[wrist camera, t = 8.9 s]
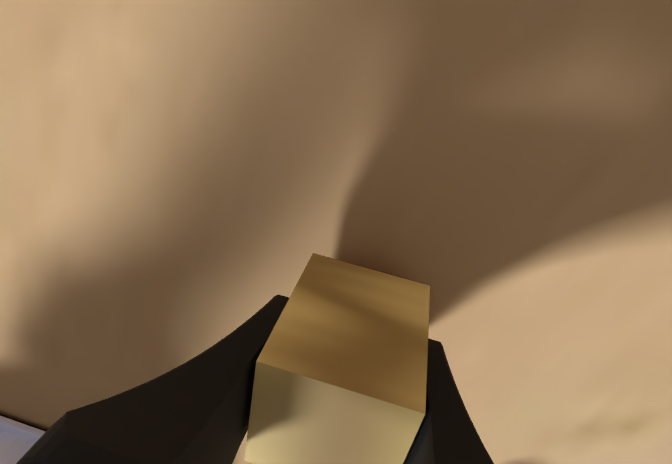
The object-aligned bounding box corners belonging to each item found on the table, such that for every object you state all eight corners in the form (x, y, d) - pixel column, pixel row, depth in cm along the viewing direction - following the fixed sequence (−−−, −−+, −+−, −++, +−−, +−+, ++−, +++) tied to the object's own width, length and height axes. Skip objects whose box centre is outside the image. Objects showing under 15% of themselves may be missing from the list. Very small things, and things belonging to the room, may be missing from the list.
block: (297, 339, 16) (244, 460, 12) (313, 253, 14) (256, 361, 10) (398, 370, 16) (383, 507, 11) (430, 285, 14) (425, 414, 9)
